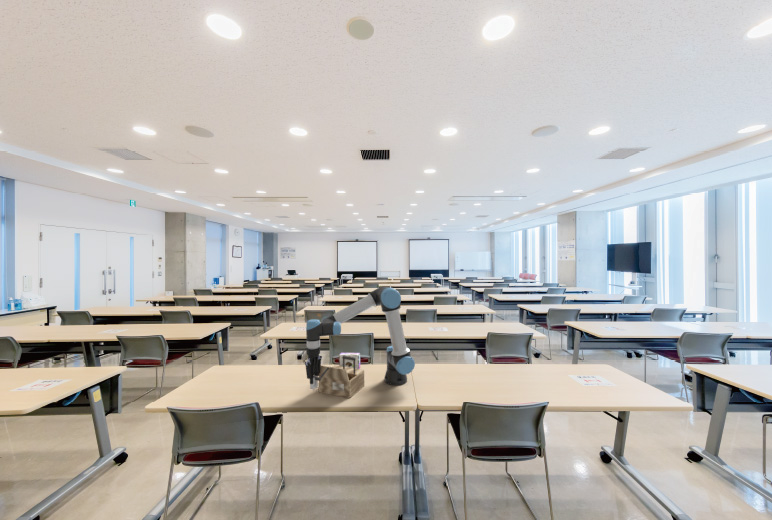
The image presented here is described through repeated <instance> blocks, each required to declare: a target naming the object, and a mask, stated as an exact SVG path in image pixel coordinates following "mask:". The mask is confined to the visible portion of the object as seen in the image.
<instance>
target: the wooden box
mask: <svg viewBox="0 0 772 520" xmlns="http://www.w3.org/2000/svg"><path fill="white" fill-rule="evenodd" d="M348 378H349V382H346V381H341V380H335V379H330V378H324V377H322V378H321V381H318V392H319V393H322V394H323V393H324V394H327V395H332V396H338V397H342V398H348V399H351V398H352V397H353V396H355V395H356V394H357V393H358V392H359V391H361V390H362V389H364V387H365V370H364V371H363V372H362V373H360V374H359V375H357V376H356V375H350V374H348Z"/></svg>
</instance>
